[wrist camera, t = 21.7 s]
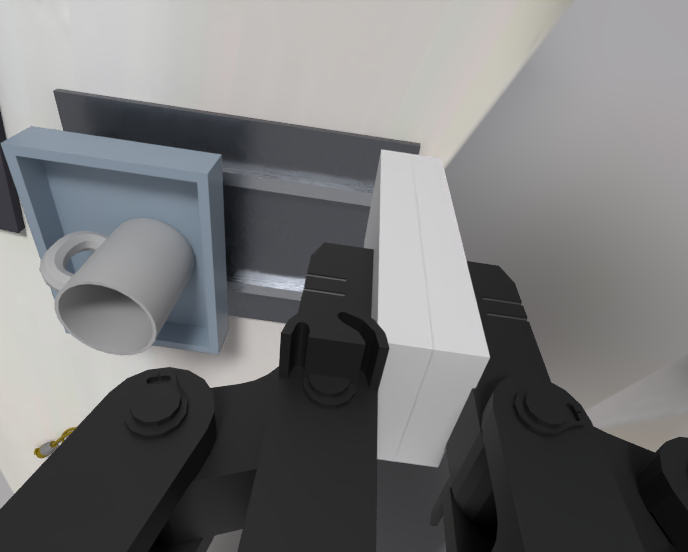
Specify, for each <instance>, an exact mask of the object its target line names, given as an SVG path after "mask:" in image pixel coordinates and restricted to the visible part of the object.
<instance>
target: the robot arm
mask: <svg viewBox="0 0 688 552" xmlns="http://www.w3.org/2000/svg"><path fill="white" fill-rule="evenodd" d="M446 450H447V457H448V465H449V474H450V477H449V479H448V481H447V483H446V485H445V487H444V489H443V490H442V492H441V494H440V496H439V498H438V500H437V502H436V504H435V506H434V508H433V510H432V514H431V522H430V525H432V526H437V525H438V523H439V521H440V519H441V518H442V516H443V519H444V530H445V541H446V551H447V552H688V438H685V437H678V438H675V439H672V440H669V441H667V442H665V443H664V444H663V445H662V446H661V447H660V448H659V449H658V450H657V451H656V452H655V453H654V452H652V451H650V450H647V449H645V448H642V447H640V446H637V445H635V444H632V443H630V442H627V441H625V440H622V439H620V438H618V437H615V436H613V435H610V434H608V433H606V432H603V431H602V430H600V429H598V428H596V427H594V426H593V425H592V423H591V420H590V419H589V417H588V416H587V414H586V412H585V411H584V409H583V408H582V406H581V404H579V403H578V402H577V401H576V400H575V399H574V398H573V397H572V396H571V395H570V394H569V393H568V392H567V391H565V390H564V389H562V388H560V387H558V386H557V385H555V384H553V383H551V381H550V378H549V376H548V373H547V370H546V367H545V364H544V362H543V359H542V356H541V353H540V351H539V348H538V346H537V343H536V340H535V337H534V334H533V332H532V329H531V326H530V323H529V322H527V315H526V312H525V310H524V307H523V306H521V299H520V296H519V293H518V291H517V288H516V285H515V283H514V282H513V281H512V280H511V279H510V278H509V276H508V275H507V274H506V273H505V272H504V271H503V270H502V269H501V268H500V267H499V266H496V265H489V264H482V263H475V262H469V261H466V257H465V253H464V250H463V245H462V241H461V237H460V233H459V229H458V224H457V220H456V216H455V212H454V208H453V204H452V200H451V196H450V192H449V188H448V184H447V180H446V176H445V171H444V167H443V163H442V159H441V158H436V157H429V156H422V155H416V154H409V153H402V152H396V151H389V150H382V149H381V153H380V158H379V164H378V169H377V175H376V180H375V186H374V191H373V197H372V202H371V208H370V213H369V218H368V224H367V229H366V235H365V240H364V248H361V247H354V246H347V245H340V244H333V243H326V242H324V243H323V244H322V245H321V246H320V247H319V248H318V249H317V250H316V251H315V252H314V253H313V254H312V255H311V258H310V262H309V266H308V271H307V276H306V279H305V284H304V289H303V293H302V297H301V301H300V306H299V310H298V313H297V314H296V315H294V316H293V317H291V318H290V319H289V320H288V322H287V323H286V325H285V327H284V329H283V331H282V332H281V343H280V360H279V367H277V368H276V369H275V370H273V371H272V372H271V373H269V374H268V375H266V376H264V377H261V378H259V379H257V380H255V381H250V382H246V383H242V384H236V385H229V386H222V387H214V388H210V387H209V386H208V384H207V383H206V381H205V380H204V379H202V378H201V377H199V376H197V375H196V374H194V373H192V372H191V371H189V370H183V369H177V368H171V367H167V368H159V369H151V370H147V371H144V372H142V373H139V374H137V375H134V376H132V377H130V378H127V379H126V380H125V381H123V382H122V383H121V384H120V385H118V386H117V387H116V388H114V389H113V390H112V391H111V392H109V393H108V395H107V396H106V397H105V398H104V399H103V400H102V401H101V402H100V403H99V404H98V405H97V406H96V407H95V408H94V410H93V411H92V412H91V413H90V414H89V415H88V416H87V417H86V418H85V419H84V420H83V421H82V422H81V423H80V425H79V426H78V427H77V428H76V429H75V430H74V431H73V432H72V433H71V434H70V435H69V436H68V437H67V438H66V439H65V441H64V442H63V443H62V444H61V445H60V446H59V447H58V448H57V449H56V450H55V451H54V452H53V453H52V454H51V456H50V457H49V458H48V459H47V460H46V461H45V462H44V463H43V464H42V465H41V466H40V467H39V468H38V469H37V471H36V472H35V473H34V474H33V475H32V476H31V477H30V478H29V479H28V480H27V481H26V482H25V483H24V484H23V485H22V487H21V488H20V489H19V490H18V491H17V492H16V493H15V494H14V495H13V496H12V497H11V498H10V499H9V500H8V502H7V503H6V504H5V505H4V506H3V507H2V508H1V509H0V552H206V551H207V549H208V547H209V545H210V543H211V542H212V540H213V538H214V536H215V535H218V534H222V533H227V532H231V531H236V530H240V529H243V531H242V535H241V540H240V544H239V548H238V552H376V507H377V500H376V499H377V459H381V460H388V461H395V462H403V463H410V464H417V465H425V466H432V467H438V466H439V464H440V462H441V460H442V458H443V456H444V454H445V452H446Z"/></svg>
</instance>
